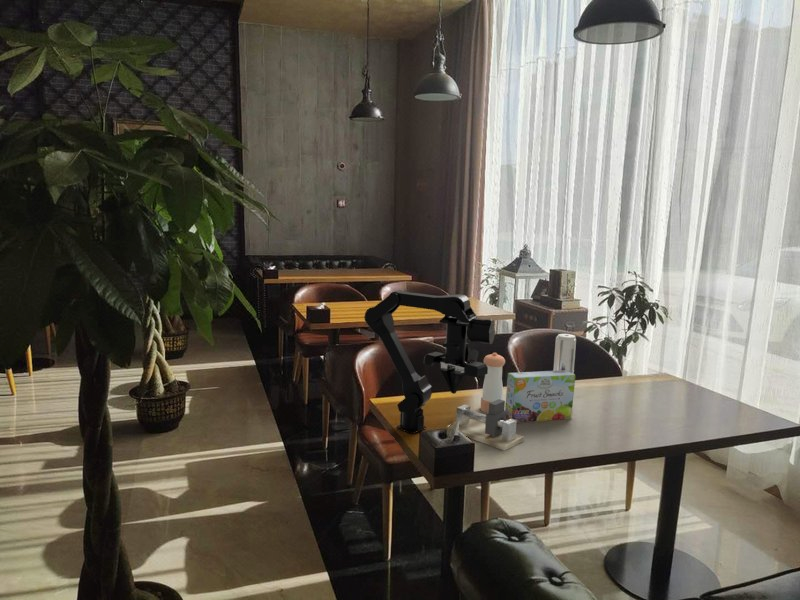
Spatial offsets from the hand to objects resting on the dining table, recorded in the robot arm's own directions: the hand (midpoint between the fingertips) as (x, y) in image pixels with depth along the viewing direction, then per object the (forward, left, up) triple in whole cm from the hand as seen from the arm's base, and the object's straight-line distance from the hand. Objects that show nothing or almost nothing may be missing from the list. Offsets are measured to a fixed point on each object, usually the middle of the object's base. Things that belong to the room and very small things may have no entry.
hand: (453, 393), depth 160 cm
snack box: (+10, +32, -13) cm, 36 cm away
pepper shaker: (-5, +28, -13) cm, 31 cm away
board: (+6, +8, -13) cm, 16 cm away
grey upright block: (+9, +8, -11) cm, 17 cm away
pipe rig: (+6, +8, -12) cm, 15 cm away
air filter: (+10, +47, -13) cm, 50 cm away
